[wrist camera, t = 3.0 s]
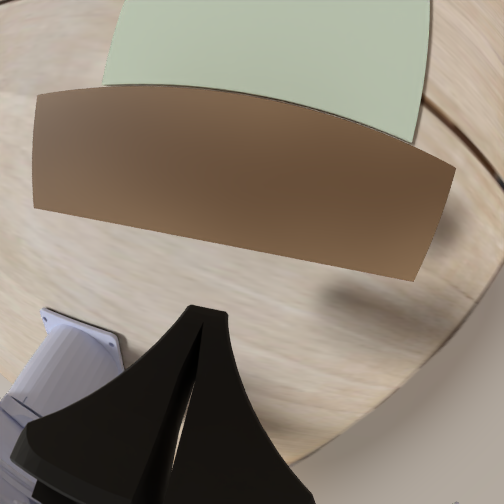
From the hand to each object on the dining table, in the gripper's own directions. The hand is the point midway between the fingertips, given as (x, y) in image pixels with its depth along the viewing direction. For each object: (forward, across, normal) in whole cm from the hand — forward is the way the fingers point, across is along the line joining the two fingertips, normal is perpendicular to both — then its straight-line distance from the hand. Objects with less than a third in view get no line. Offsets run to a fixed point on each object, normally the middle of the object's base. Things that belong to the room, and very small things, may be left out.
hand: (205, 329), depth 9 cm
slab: (+6, 0, -6) cm, 8 cm away
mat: (+6, 0, -16) cm, 17 cm away
